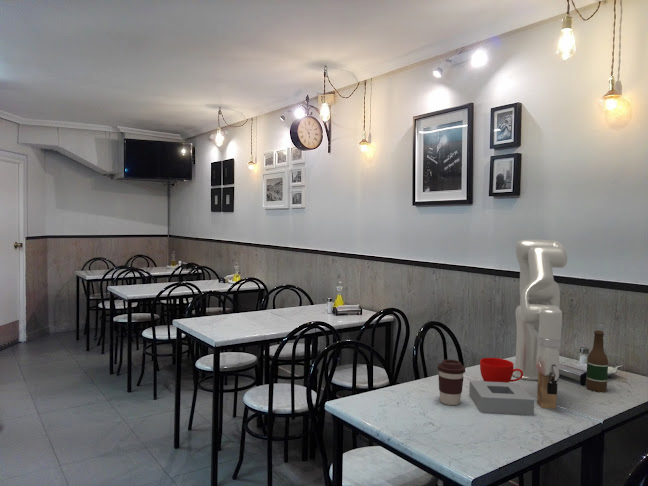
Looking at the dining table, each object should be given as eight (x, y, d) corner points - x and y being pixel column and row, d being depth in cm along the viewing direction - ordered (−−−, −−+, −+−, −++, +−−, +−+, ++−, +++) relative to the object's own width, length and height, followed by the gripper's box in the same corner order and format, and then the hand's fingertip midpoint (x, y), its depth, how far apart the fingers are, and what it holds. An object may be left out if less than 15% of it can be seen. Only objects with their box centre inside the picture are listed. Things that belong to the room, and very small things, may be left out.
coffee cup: (464, 408, 177) (466, 366, 176) (436, 405, 179) (438, 364, 178) (462, 398, 186) (464, 359, 186) (435, 396, 188) (437, 357, 188)
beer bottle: (611, 393, 198) (614, 333, 197) (591, 392, 198) (594, 333, 197) (600, 386, 205) (603, 329, 204) (581, 386, 206) (584, 328, 204)
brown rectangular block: (536, 403, 184) (538, 366, 183) (550, 403, 184) (552, 366, 183) (541, 408, 179) (543, 370, 178) (555, 408, 179) (557, 370, 178)
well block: (469, 394, 191) (469, 380, 191) (516, 397, 190) (517, 383, 190) (480, 412, 173) (481, 397, 173) (533, 415, 172) (534, 399, 172)
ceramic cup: (517, 396, 191) (518, 370, 190) (474, 386, 201) (475, 362, 201) (526, 388, 201) (527, 363, 201) (485, 379, 211) (486, 355, 211)
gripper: (530, 336, 189) (528, 381, 190) (547, 348, 172) (545, 397, 173) (550, 337, 189) (548, 382, 190) (570, 349, 171) (567, 398, 172)
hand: (547, 389), depth 181 cm, fingers open, 8 cm apart
